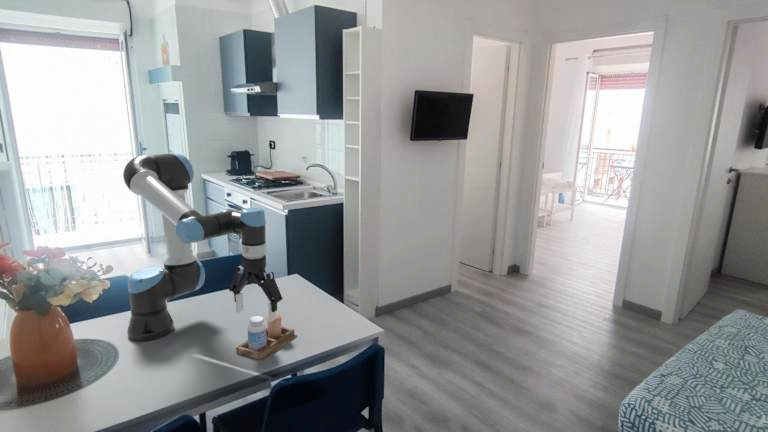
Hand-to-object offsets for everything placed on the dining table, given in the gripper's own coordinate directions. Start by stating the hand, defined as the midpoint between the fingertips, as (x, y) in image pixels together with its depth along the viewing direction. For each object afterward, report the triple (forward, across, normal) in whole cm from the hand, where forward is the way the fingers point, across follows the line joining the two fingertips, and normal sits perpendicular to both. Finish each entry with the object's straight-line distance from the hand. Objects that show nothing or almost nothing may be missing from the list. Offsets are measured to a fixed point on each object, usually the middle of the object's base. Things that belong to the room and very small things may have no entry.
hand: (255, 315), depth 146 cm
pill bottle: (+12, +1, 0) cm, 13 cm away
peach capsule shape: (+12, +1, +9) cm, 15 cm away
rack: (+13, +1, +4) cm, 14 cm away
